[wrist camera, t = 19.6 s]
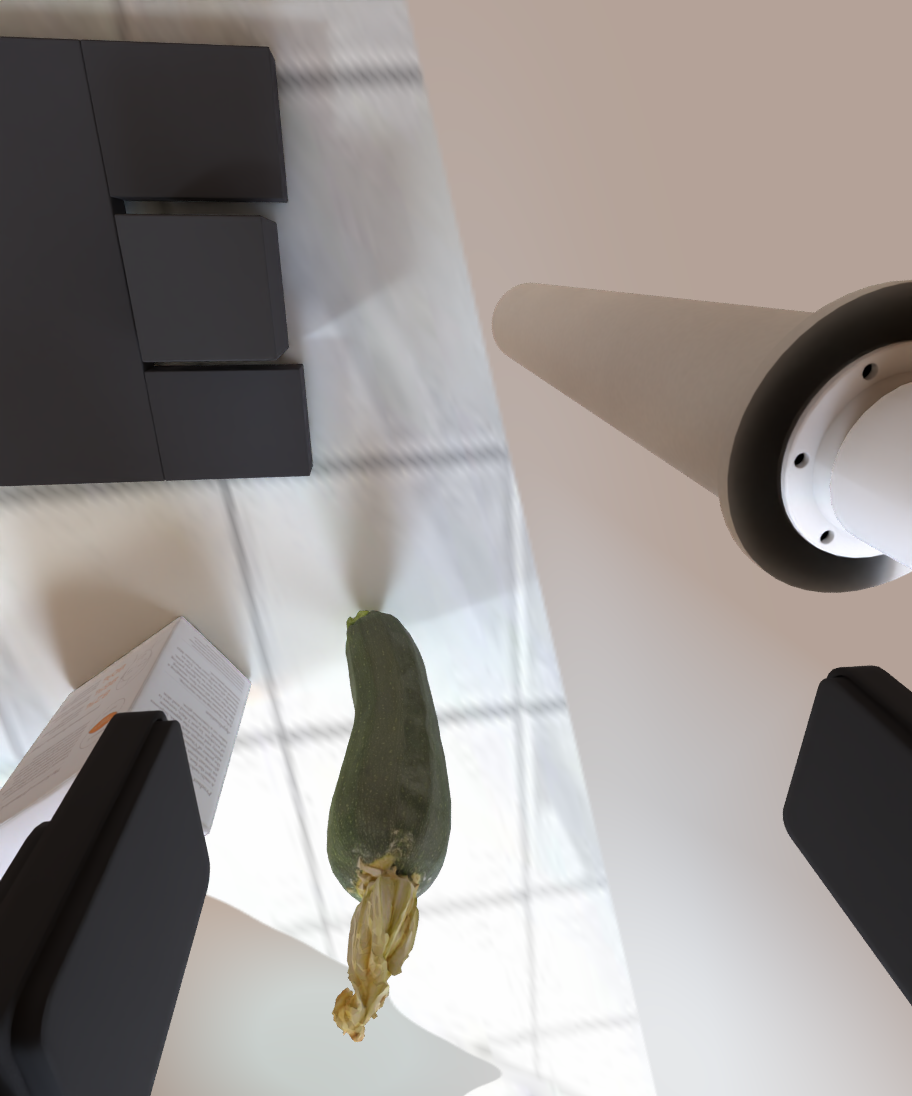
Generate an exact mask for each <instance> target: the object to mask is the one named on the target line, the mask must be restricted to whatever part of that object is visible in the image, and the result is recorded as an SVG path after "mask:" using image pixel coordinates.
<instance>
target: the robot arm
mask: <svg viewBox="0 0 912 1096" xmlns="http://www.w3.org/2000/svg"><path fill="white" fill-rule="evenodd" d="M777 489H778V497H779V502H780V504H781V507H782V510H783V513H784V515H785V517H786V519H787V520H788V522H789V523H790V525H791V526H792V528H793V529H794V530H795V531H796V532H797V533H798V534H799V535H800V536H802V537H803V538H804V539H805V540H806V541H808V542H809V543H811V544H813V545H814V546H816V547H817V548H819V549H821V550H824V551H826V552H829V553H831V554H834V555H837V556H844V557H851V558H859V557H873V556H877V555H882V554H885V555H887V556H889V557H891V558H893V559H894V560H896V561H898V562H900V563H901V564H903V565H905V566H907V567H909V568H910V569H912V340H899V341H894V342H890V343H885V344H881V345H879V346H876V347H874V348H872V349H869V350H867V351H864V352H862V353H860V354H858V355H857V356H855V357H853V358H852V359H850V360H849V361H847V362H845V363H844V364H842V365H841V366H839V367H838V368H837V369H836V370H835V371H833V372H832V373H831V374H830V375H829V376H828V377H826V378H825V379H824V380H823V381H822V382H821V383H820V384H819V385H818V386H817V387H816V389H815V390H814V391H813V392H812V393H811V394H810V396H809V397H808V398H807V399H806V400H805V402H804V403H803V405H802V406H801V408H800V409H799V411H798V413H797V414H796V416H795V417H794V419H793V421H792V423H791V425H790V427H789V430H788V432H787V434H786V436H785V439H784V441H783V445H782V448H781V452H780V456H779V460H778V469H777ZM783 821H784V825H785V827H786V830H787V832H788V834H789V836H790V837H791V839H792V840H793V841H794V843H795V844H796V846H797V847H798V848H799V850H800V851H801V853H802V854H803V855H804V857H805V858H806V859H807V861H808V862H809V864H810V865H811V866H812V868H813V869H814V871H815V872H816V873H817V875H818V876H819V878H820V879H821V880H822V882H823V883H824V885H825V886H826V887H827V889H828V890H829V891H830V893H831V894H832V896H833V897H834V898H835V900H836V901H837V903H838V904H839V905H840V907H841V908H842V909H843V911H844V912H845V914H846V915H847V916H848V918H849V919H850V921H851V922H852V923H853V925H854V926H855V927H856V929H857V930H858V931H859V933H860V934H861V936H862V937H863V939H864V940H865V941H866V943H867V944H868V946H869V947H870V948H871V950H872V951H873V952H874V954H875V955H876V957H877V958H878V959H879V961H880V962H881V964H882V965H883V966H884V968H885V969H886V971H887V972H888V973H889V975H890V976H891V978H892V979H893V980H894V982H895V983H896V984H897V986H898V987H899V989H900V990H901V991H902V993H903V994H904V996H905V997H906V998H907V1000H908V1001H909V1003H910V1004H911V1005H912V692H911V691H910V690H909V689H907V688H906V687H905V686H904V685H902V684H901V683H900V682H898V681H897V680H896V679H895V678H894V677H892V676H891V675H890V674H889V673H887V672H886V671H885V670H883V669H881V668H880V667H877V666H857V667H856V666H855V667H840V668H836V669H833V670H832V671H831V672H830V673H829V674H828V676H827V678H826V679H824V680H822V681H821V682H820V684H819V687H818V690H817V693H816V697H815V700H814V704H813V707H812V711H811V714H810V718H809V721H808V725H807V728H806V731H805V735H804V739H803V742H802V746H801V749H800V752H799V756H798V759H797V763H796V766H795V770H794V774H793V777H792V780H791V784H790V787H789V791H788V794H787V798H786V801H785V805H784V808H783ZM209 874H210V862H209V856H208V851H207V846H206V842H205V837H204V832H203V828H202V823H201V818H200V813H199V809H198V804H197V799H196V795H195V790H194V785H193V780H192V776H191V771H190V766H189V762H188V757H187V752H186V747H185V743H184V738H183V733H182V729H181V725H180V723H179V722H178V721H177V720H169V721H168V720H167V717H166V715H165V713H164V712H163V711H161V710H154V711H138V712H123V713H117V714H115V715H114V716H113V717H112V718H111V720H110V721H109V723H108V724H107V726H106V728H105V729H104V731H103V733H102V735H101V736H100V738H99V740H98V741H97V743H96V745H95V746H94V748H93V750H92V751H91V753H90V755H89V756H88V758H87V760H86V761H85V763H84V765H83V767H82V768H81V770H80V772H79V773H78V775H77V777H76V778H75V780H74V782H73V783H72V785H71V787H70V788H69V790H68V792H67V793H66V795H65V797H64V799H63V800H62V802H61V804H60V805H59V807H58V809H57V810H56V812H55V814H54V815H53V817H52V819H51V820H50V821H46V822H42V823H41V824H39V825H38V826H36V827H35V828H34V829H33V831H32V832H31V833H30V834H29V836H28V837H27V838H26V840H25V841H24V843H23V844H22V846H21V848H20V849H19V851H18V853H17V854H16V856H15V857H14V859H13V861H12V862H11V864H10V866H9V867H8V869H7V870H6V872H5V874H4V875H3V877H2V878H1V880H0V1096H150V1095H151V1091H152V1087H153V1084H154V1080H155V1076H156V1073H157V1069H158V1066H159V1062H160V1058H161V1055H162V1051H163V1048H164V1044H165V1040H166V1036H167V1033H168V1030H169V1026H170V1022H171V1019H172V1015H173V1012H174V1008H175V1004H176V1000H177V997H178V993H179V990H180V986H181V982H182V979H183V975H184V971H185V968H186V965H187V961H188V957H189V954H190V950H191V946H192V943H193V939H194V936H195V932H196V928H197V925H198V921H199V917H200V914H201V910H202V907H203V903H204V899H205V896H206V892H207V888H208V883H209Z"/></svg>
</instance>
